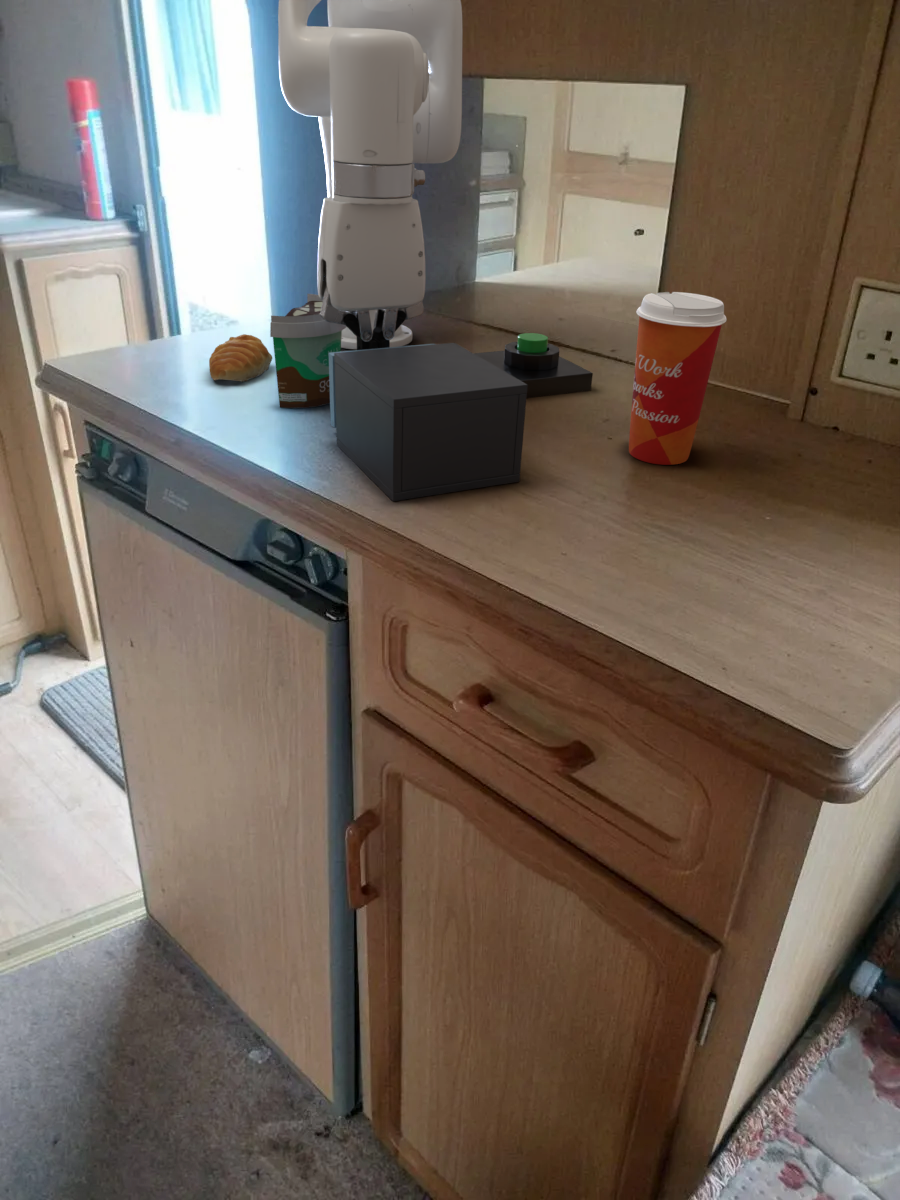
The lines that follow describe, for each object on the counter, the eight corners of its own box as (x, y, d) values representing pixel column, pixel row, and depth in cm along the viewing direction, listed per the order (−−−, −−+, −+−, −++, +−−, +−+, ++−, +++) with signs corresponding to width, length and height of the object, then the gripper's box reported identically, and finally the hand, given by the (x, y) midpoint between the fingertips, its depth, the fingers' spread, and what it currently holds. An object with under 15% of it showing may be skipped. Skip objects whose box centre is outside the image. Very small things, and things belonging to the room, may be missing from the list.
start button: (511, 348, 110) (512, 334, 109) (537, 346, 112) (538, 331, 111) (526, 356, 107) (527, 341, 107) (552, 353, 109) (553, 339, 108)
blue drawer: (313, 407, 97) (310, 338, 93) (411, 397, 101) (413, 330, 98) (379, 472, 82) (379, 393, 78) (491, 456, 87) (496, 380, 83)
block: (470, 370, 114) (472, 338, 112) (539, 364, 118) (542, 332, 116) (517, 399, 105) (520, 365, 103) (590, 391, 109) (594, 357, 107)
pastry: (253, 387, 105) (251, 354, 103) (196, 384, 105) (192, 351, 103) (275, 365, 113) (273, 334, 111) (221, 362, 113) (218, 331, 111)
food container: (329, 417, 97) (326, 321, 92) (274, 411, 98) (269, 316, 93) (362, 384, 107) (361, 297, 102) (312, 379, 108) (309, 292, 103)
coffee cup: (601, 444, 93) (621, 292, 86) (668, 435, 96) (693, 288, 88) (648, 474, 86) (673, 312, 79) (718, 464, 89) (749, 307, 82)
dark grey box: (336, 444, 90) (334, 353, 86) (451, 430, 95) (454, 342, 90) (393, 501, 79) (393, 399, 74) (519, 481, 84) (527, 384, 79)
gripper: (428, 178, 91) (423, 361, 101) (283, 179, 86) (292, 373, 95) (461, 187, 86) (453, 379, 95) (308, 189, 80) (316, 394, 89)
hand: (373, 376), depth 95 cm, fingers closed
